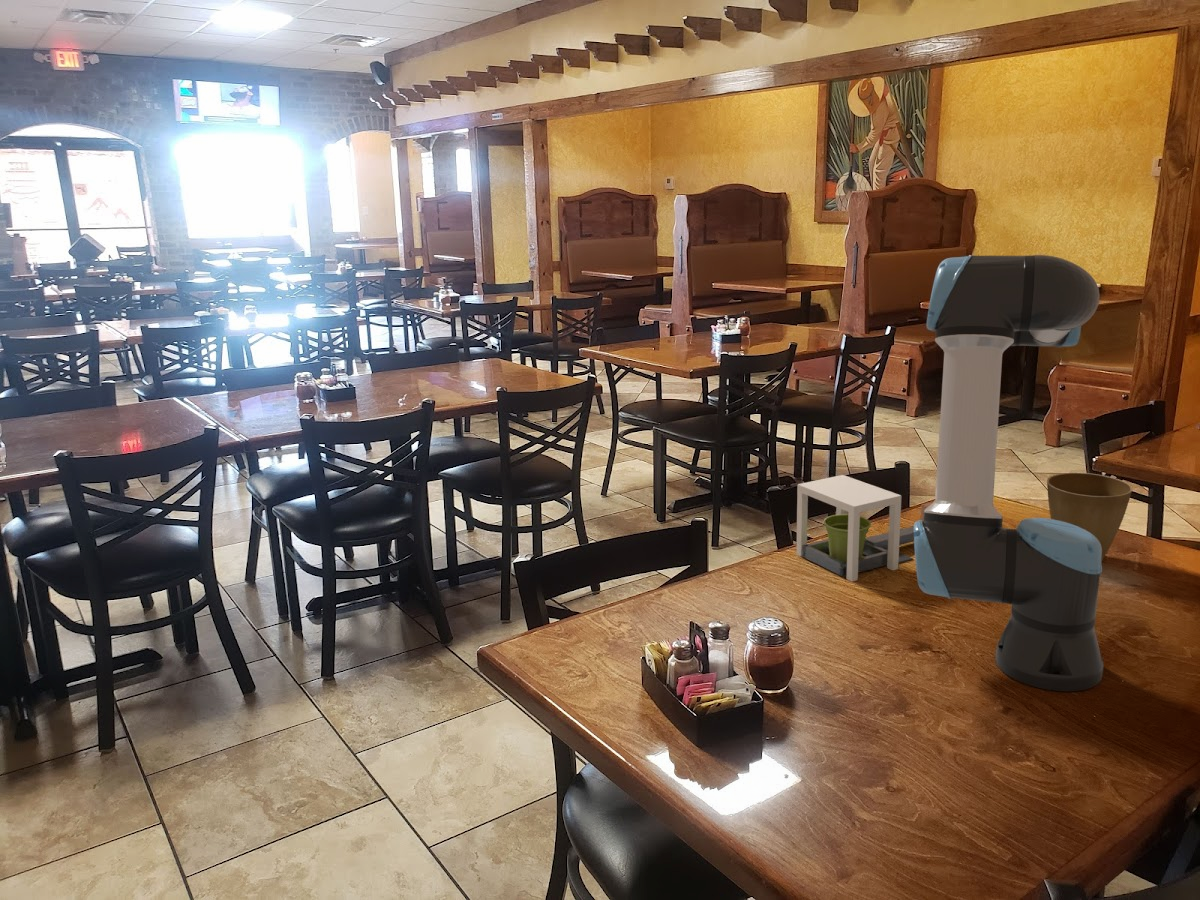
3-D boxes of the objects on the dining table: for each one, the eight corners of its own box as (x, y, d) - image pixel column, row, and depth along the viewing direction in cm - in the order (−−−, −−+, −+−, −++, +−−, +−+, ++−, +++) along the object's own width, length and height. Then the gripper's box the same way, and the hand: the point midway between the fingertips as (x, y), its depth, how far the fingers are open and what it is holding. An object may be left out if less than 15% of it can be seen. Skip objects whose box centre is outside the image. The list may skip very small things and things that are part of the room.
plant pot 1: (875, 557, 190) (876, 518, 188) (861, 573, 182) (863, 532, 180) (831, 550, 195) (832, 511, 193) (816, 565, 187) (817, 525, 185)
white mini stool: (920, 562, 186) (924, 490, 182) (851, 581, 179) (854, 506, 175) (862, 537, 201) (864, 470, 197) (796, 554, 193) (797, 484, 189)
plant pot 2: (1024, 554, 188) (1030, 480, 184) (1074, 540, 194) (1081, 468, 190) (1088, 579, 175) (1096, 500, 171) (1140, 563, 181) (1150, 486, 177)
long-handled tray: (964, 543, 194) (966, 515, 193) (842, 576, 180) (843, 546, 179) (920, 526, 205) (922, 499, 204) (802, 556, 191) (802, 528, 190)
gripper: (980, 358, 199) (973, 462, 205) (936, 366, 193) (930, 472, 200) (1009, 363, 192) (1001, 470, 199) (964, 371, 187) (957, 481, 193)
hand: (965, 471), depth 199 cm, fingers closed
